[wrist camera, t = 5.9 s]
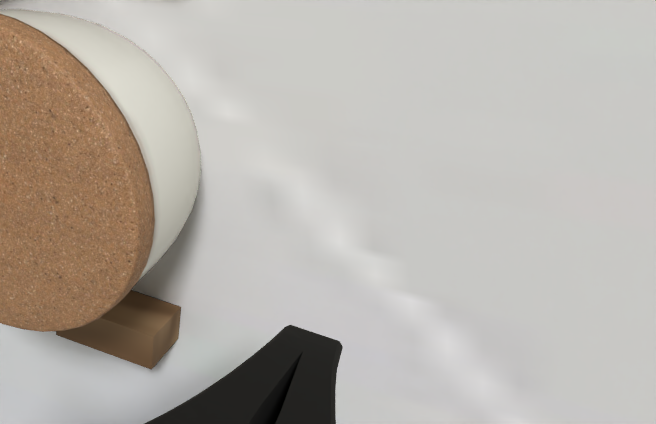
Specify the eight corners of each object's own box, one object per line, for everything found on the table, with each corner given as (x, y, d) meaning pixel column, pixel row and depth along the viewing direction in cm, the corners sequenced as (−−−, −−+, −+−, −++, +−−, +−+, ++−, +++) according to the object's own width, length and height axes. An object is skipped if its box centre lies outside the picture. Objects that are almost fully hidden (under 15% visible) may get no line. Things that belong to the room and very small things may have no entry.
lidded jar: (232, 264, 25) (107, 405, 17) (34, 207, 27) (-166, 309, 19) (254, 26, 21) (96, 60, 12) (14, -23, 22) (-264, -23, 14)
